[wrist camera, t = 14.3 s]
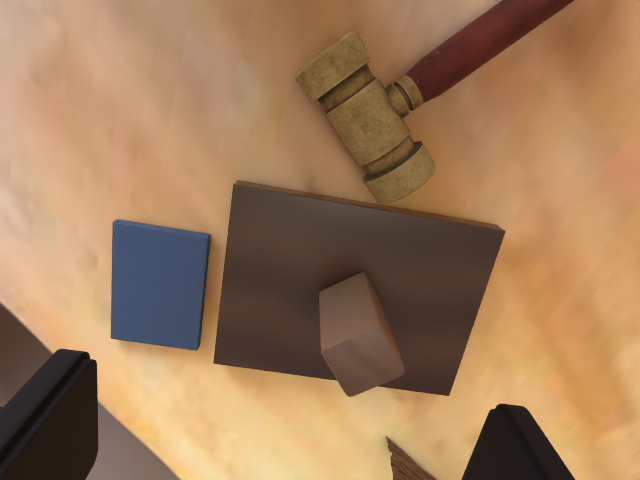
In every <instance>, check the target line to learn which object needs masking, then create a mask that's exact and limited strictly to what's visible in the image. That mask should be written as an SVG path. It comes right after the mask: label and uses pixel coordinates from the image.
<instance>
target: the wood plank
mask: <svg viewBox="0 0 640 480" xmlns="http://www.w3.org/2000/svg"><path fill="white" fill-rule="evenodd" d="M386 438H387V437H386ZM387 441H388V448H389V451H390V452H392V453H393V454H392V456H391V466H392V471H393V480H435V479H434V478H433V477H431V476H430V475H429V474H428V473H426V472H425V471H424V470H422V469H421V468H420V467H419V466H418V465H417V464H416V463H415V462H414V461H413V460H412V458H410V457H409V456H408V455H407V454H406V453H405V452H404V451H403V450H402V449H401V448H399V447H398V446H397V445H396V444H395V443H393V442H392V441H391V440H390V439H389V438H387Z"/></svg>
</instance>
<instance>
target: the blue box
mask: <svg viewBox="0 0 640 480" xmlns="http://www.w3.org/2000/svg"><path fill="white" fill-rule="evenodd" d="M210 236H211V235H210V234H203V233H197V232H191V231H185V230H179V229H172V228H166V227H160V226H154V225H148V224H141V223H135V222H129V221H123V220H116V221H114V222H113V237H112V299H111V339H117V340H125V341H132V342H139V343H146V344H153V345H160V346H167V347H175V348H182V349H189V350H196V351H197V350H198V348H199V346H200V338H201V328H202V318H203V307H204V297H205V287H206V277H207V266H208V256H209V246H210Z"/></svg>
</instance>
